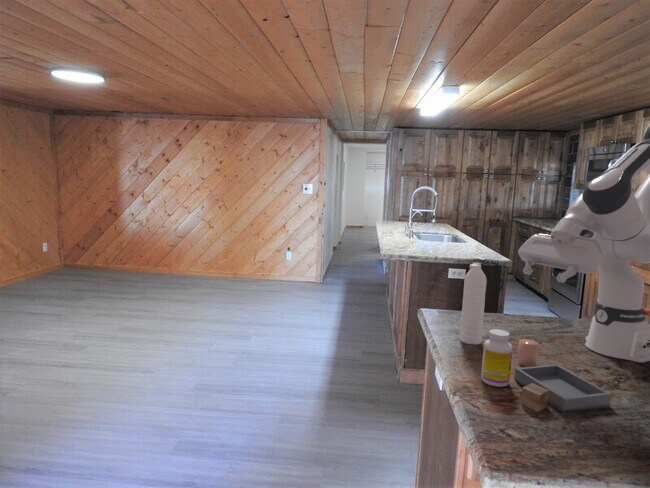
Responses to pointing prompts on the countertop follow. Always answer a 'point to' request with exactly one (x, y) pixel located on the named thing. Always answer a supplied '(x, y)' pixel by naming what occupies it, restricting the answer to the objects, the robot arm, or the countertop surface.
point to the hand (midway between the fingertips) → (542, 276)
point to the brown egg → (528, 353)
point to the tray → (564, 387)
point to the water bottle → (473, 305)
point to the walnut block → (535, 397)
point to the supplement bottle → (497, 359)
